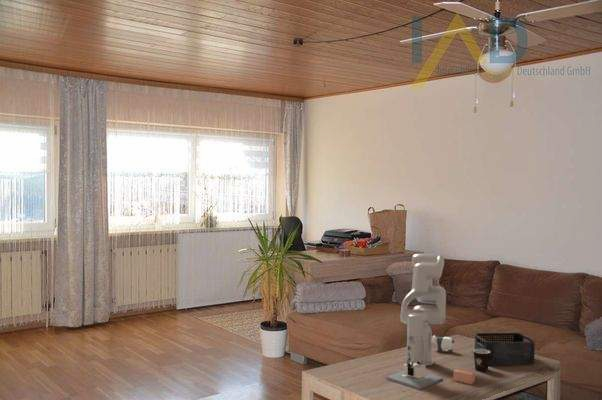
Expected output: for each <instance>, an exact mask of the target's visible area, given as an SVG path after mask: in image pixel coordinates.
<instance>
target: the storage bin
mask: <svg viewBox="0 0 602 400" xmlns="http://www.w3.org/2000/svg"><path fill="white" fill-rule="evenodd" d="M525 340H527V341H525ZM535 342H536V340H534V339H533V338H531V337H529V336H527V335H525V334H524V333H520V332H477V333H475V334H474V349H485V350H489V351H490V356H494V357H496V363H494V362H495V358H494V357H490V359H489V365H490V364H493V363H494V364H493V365H491V366H493V367H495V366H499V367H502V366H504V367H505V366H507V367H508V366H533V365H535V353H536V352H535V350H536V349H535Z"/></svg>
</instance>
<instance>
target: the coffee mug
mask: <svg viewBox="0 0 602 400" xmlns="http://www.w3.org/2000/svg"><path fill="white" fill-rule="evenodd" d="M490 357H494V356H490V351H489V350H485V349H475V348H474V349H473V359H474V369H475V370H474V371H475V372H476V371H477V372H480V373H487V372H489V367H490V366H491V365H493V364H494V363H496V357H494V358H495V362H494V363H493V364H490V365H489V359H490Z"/></svg>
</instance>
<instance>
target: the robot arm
mask: <svg viewBox="0 0 602 400" xmlns="http://www.w3.org/2000/svg"><path fill="white" fill-rule="evenodd" d="M411 263H412V266H413V271H412V281H411V282H412V283H411V290H410V291H409V292H408V293H407V294H406V295H405V297H404V298H403V300H402V302H401V308H400V309H401V310H400V322H401V323H403V324H404V325H407V327H406V330H407V336H406V337H407V339H406V340H407V342H406V348H405V349H406V350H405V360H404V364H406V365H407V367H408V375H410V376H413V374H414V368H413V364H414V363H417V364H421V365H425V366H426V367H427V366H432V365H435V360H434V359H433V358H432V345H433V342H432V337H433V334H432V333H433V332H432V328H431V326H430V325H431V324H433V325H443V324H444V323H445V322H446V304H447V303H446V300H447V294H446V289H445V288H444V287H443V286H439V285H436V286H435V285H433V280H440V279H441V277H442V275H443V269H444V266H445V258H444V256H443V255H441V254H437V253H436V254H435V253H415V254H413V255H412V256H411ZM415 299H416V300H417V301H418V302H419V303H422V305H421V304H419V305H415V306H414V307H413V308H412V309H408V305H409V303H410V302H412V301H413V300H415ZM423 303H424V304H425V305H424V304H423ZM426 304H434V305H426ZM429 324H430V325H429ZM410 362H411V364H410Z"/></svg>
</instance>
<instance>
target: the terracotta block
mask: <svg viewBox="0 0 602 400" xmlns="http://www.w3.org/2000/svg"><path fill="white" fill-rule="evenodd" d="M452 374H453V375H452V376H453V382H458V381H459V382H458V383H463V382H464V384H467V385H472V384H474V382H476V370H470V369H465V368H460V367H456V368H455V369H454V370H453V373H452Z"/></svg>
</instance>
